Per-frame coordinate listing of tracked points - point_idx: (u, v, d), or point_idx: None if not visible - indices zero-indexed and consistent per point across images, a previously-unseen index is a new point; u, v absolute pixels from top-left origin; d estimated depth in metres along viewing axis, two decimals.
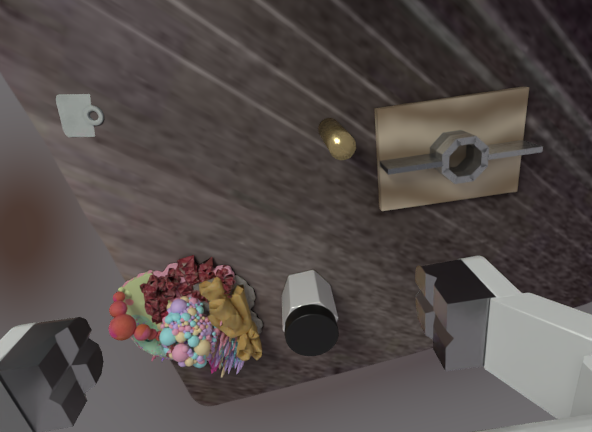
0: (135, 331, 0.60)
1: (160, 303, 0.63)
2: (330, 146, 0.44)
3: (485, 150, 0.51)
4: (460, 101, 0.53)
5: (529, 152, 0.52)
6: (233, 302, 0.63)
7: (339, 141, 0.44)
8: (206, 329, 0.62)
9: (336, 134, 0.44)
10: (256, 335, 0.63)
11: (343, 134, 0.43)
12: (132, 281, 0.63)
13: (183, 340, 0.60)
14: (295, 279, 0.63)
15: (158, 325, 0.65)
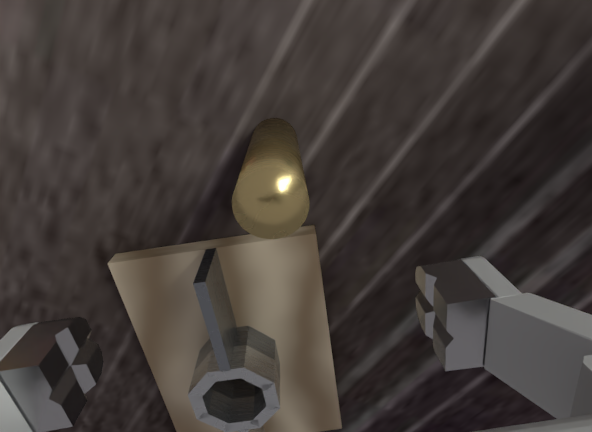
0: None
1: None
2: (271, 170, 0.15)
3: (254, 424, 0.29)
4: (325, 354, 0.33)
5: None
6: None
7: (286, 194, 0.15)
8: None
9: (304, 183, 0.15)
10: None
11: (306, 204, 0.15)
12: None
13: None
14: None
15: None
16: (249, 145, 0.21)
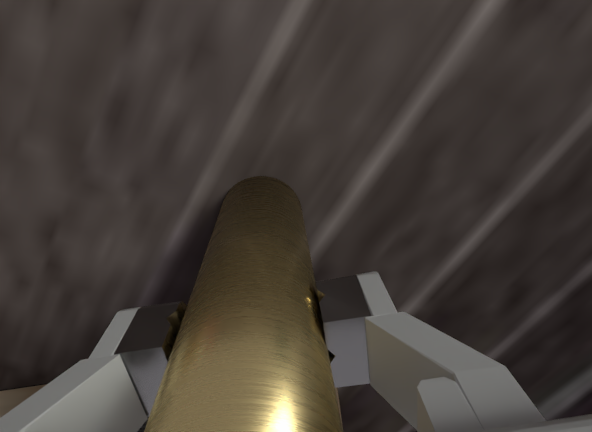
0: None
1: None
2: None
3: None
4: None
5: None
6: None
7: None
8: None
9: None
10: None
11: None
12: None
13: None
14: None
15: None
16: (204, 258, 0.10)
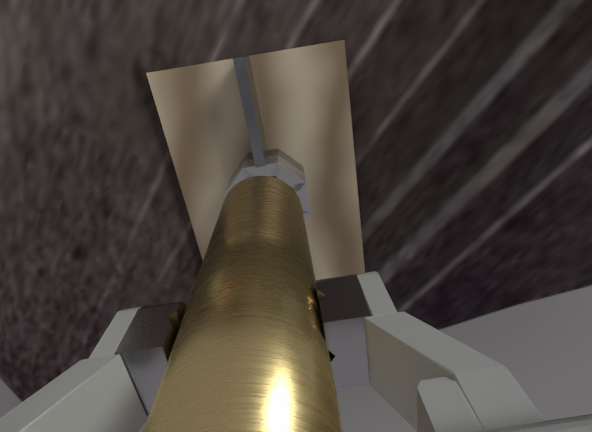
0: None
1: None
2: None
3: None
4: (351, 184, 0.34)
5: None
6: None
7: None
8: None
9: None
10: None
11: None
12: None
13: None
14: None
15: None
16: (204, 257, 0.10)
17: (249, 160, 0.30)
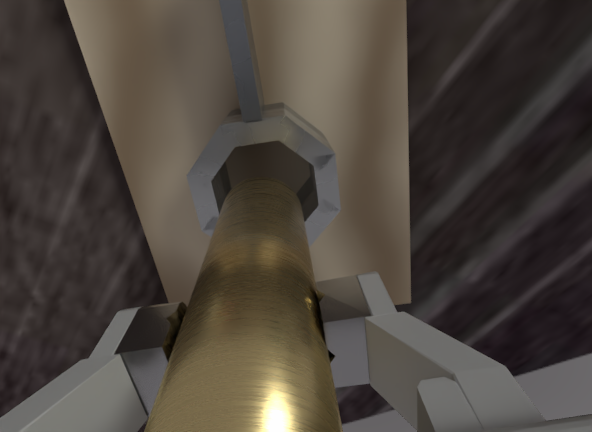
0: None
1: None
2: None
3: None
4: (399, 164, 0.21)
5: None
6: None
7: None
8: None
9: None
10: None
11: None
12: None
13: None
14: None
15: None
16: (204, 258, 0.10)
17: (233, 116, 0.17)
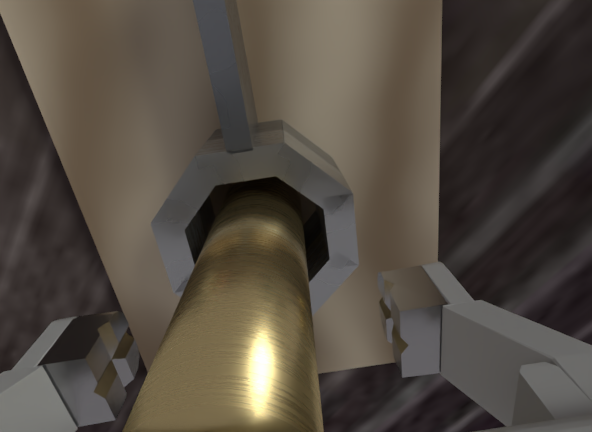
0: None
1: None
2: (216, 411, 0.05)
3: None
4: (427, 195, 0.17)
5: None
6: None
7: None
8: None
9: (313, 415, 0.06)
10: None
11: None
12: None
13: None
14: None
15: None
16: None
17: (216, 140, 0.13)
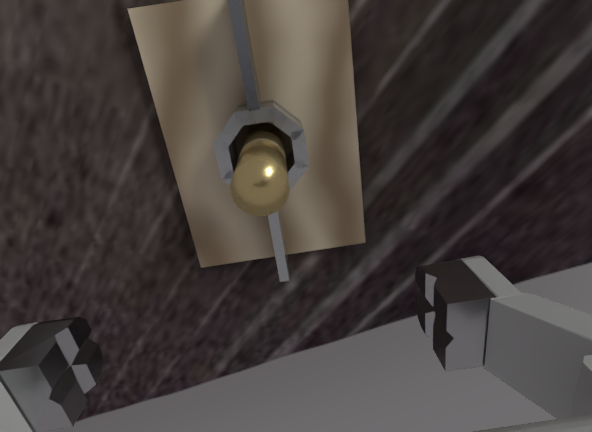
0: None
1: None
2: (260, 162, 0.19)
3: None
4: (351, 141, 0.31)
5: (279, 263, 0.30)
6: None
7: (272, 181, 0.20)
8: None
9: (285, 172, 0.20)
10: None
11: (287, 188, 0.20)
12: None
13: None
14: None
15: None
16: (243, 145, 0.26)
17: (241, 107, 0.27)
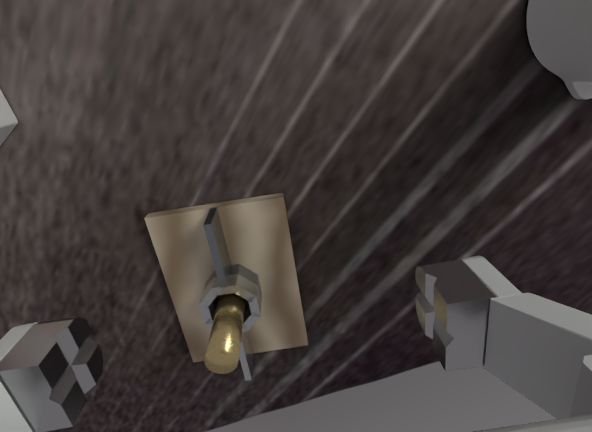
0: None
1: None
2: (220, 349, 0.35)
3: (243, 328, 0.43)
4: (293, 286, 0.46)
5: (244, 369, 0.46)
6: None
7: (228, 357, 0.35)
8: None
9: (236, 351, 0.35)
10: None
11: (237, 360, 0.35)
12: None
13: None
14: None
15: None
16: (217, 307, 0.41)
17: (217, 278, 0.42)
